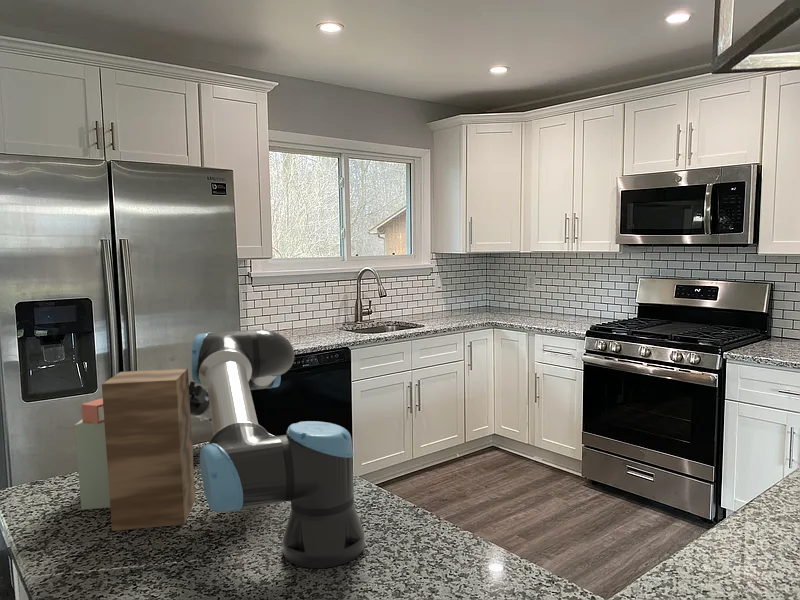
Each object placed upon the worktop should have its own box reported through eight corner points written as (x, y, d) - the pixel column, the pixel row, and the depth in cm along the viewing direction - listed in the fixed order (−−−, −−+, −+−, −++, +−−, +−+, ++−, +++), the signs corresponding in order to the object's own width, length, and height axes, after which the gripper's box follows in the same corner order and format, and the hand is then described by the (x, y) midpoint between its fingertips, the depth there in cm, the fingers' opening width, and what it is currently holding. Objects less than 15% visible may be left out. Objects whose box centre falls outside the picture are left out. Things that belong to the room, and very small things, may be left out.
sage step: (139, 504, 132) (133, 420, 131) (81, 509, 131) (74, 424, 129) (154, 480, 146) (150, 404, 144) (102, 484, 144) (97, 407, 143)
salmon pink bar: (156, 397, 151) (155, 382, 151) (171, 399, 149) (170, 383, 149) (82, 422, 131) (81, 404, 130) (98, 424, 129) (96, 405, 129)
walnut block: (184, 524, 122) (175, 380, 120) (112, 530, 120) (101, 384, 118) (195, 500, 134) (187, 368, 132) (129, 505, 132) (120, 371, 129)
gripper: (233, 419, 158) (183, 397, 140) (159, 412, 167) (102, 390, 149) (241, 392, 161) (192, 367, 143) (167, 386, 170) (113, 362, 152)
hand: (146, 379), depth 146 cm, fingers open, 13 cm apart
